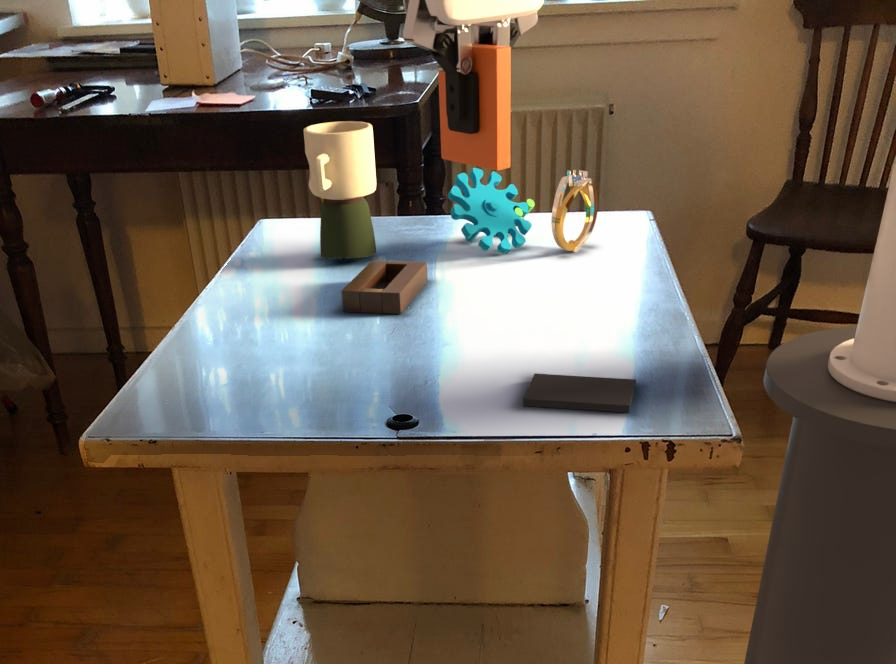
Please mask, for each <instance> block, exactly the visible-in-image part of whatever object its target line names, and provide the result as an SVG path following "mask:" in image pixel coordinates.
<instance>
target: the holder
mask: <svg viewBox="0 0 896 664" xmlns="http://www.w3.org/2000/svg"><path fill="white" fill-rule="evenodd" d="M428 282H429V281H428V262H427V261H411V260H410V261H409V260H408V261H407V260H381V259H379V260H377V259H375V260H374V259H371V261H370V262H368V264H367V265H366V266H365V267H364V268H362V270H360V272H358V274H357V275H356V276H355V277H354V278H353V279H352V280H351V281H349V283H348V284H346V286H345V287H343V288H342V289H341V292H340V293H341V302H342V311H343V312H344V313H345V312H346V313H365V314H368V313H369V314H385V315H386V314H387V315H388V314H389V315H402V314H403V312H404V311H405V310H406V309H407V307H408V306H409V305H410V304H411V302H412V301H413V300H414V299H415V298H416V296H417V295H418V294H419V293H420V292H421V290H422V289H423V288H424V287H425V286H426V285H427V283H428ZM387 284H388V285H387ZM386 285H387V286H386ZM385 286H386V287H385Z"/></svg>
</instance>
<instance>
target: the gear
mask: <svg viewBox="0 0 896 664" xmlns="http://www.w3.org/2000/svg"><path fill="white" fill-rule="evenodd" d="M483 176H484V171H483V169H481V168H479V167H473V168H472V169H471V170H470V172H469V175H468V174H467V173H466V172H461V173H459V174H457V175H456V176H455V178H454V179H453V182H454V185H453V186H452V188H451V189H450V190H449V192H448V193H447V198H448V200H449V201H452V202H455V203H456V204H455V203H454V204H453V206H452V207H451V208H450V217H451V219H452V220H453V221H458V220H464V221H465V220H466V221H468V222H466V223H464V224H463V226H462V227H461V229H460V231H461V233H462V235H463V236H464V239H465V241H467V242H468V243H473V242H474V241H475V239H476V238H477V236H478V235H479V234H480V233H483V234H485V235H484V236H482V237H481V238H480V240H479V241H478V245H477V246H478V247H479V248H480V249H482V250H483V251H485V252H488V251H489V250H490V249H491V247H492V246H493V243H494V242H493V241H494V240H493V239H494V237H497V238H498V239H499V240H500V243H499V244H498V245H497V247H496V250H497V252H498V253H499V254H502V255H507V254H509V252H510V251H511V250H512V247H513V248H514V249H519V248H521V247H523V246H524V244H525V243H526V241H527V239H526V237H525V236H526V234H528V232H530V230H531V228H532V225H533V224H532V223H531V222H530V221H529V220H526V219H525V217H526V215H528V214H529V213H530V212H531V211H532V210H533V209H534V207H535V205H536V204H535V201H534V199H532V198H527V199H526V201H521V202H515V201H512V200H514V199H515V198H516V197H517V196H518V194H519V191H518V189H517V187H516V185H515V184H514V183H510V184H509V185H508V186H507V187H506V188H505V189H497V186H499V184H500V183H501V181H502V180H503V177H502V176H501V175H500V174H499V173H498V172H497V171H495V170H492V172H491V173H490V174H489V176H488V177H487V184H486V185H484V184H482V182H481V179H482V178H483ZM469 178H470V180H471V182H472V187H471V186H470V185H469ZM463 194H464V195H463ZM508 235H510V236H511V242H510V240H509V237H508Z"/></svg>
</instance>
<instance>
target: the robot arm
mask: <svg viewBox="0 0 896 664" xmlns="http://www.w3.org/2000/svg"><path fill="white" fill-rule="evenodd" d="M402 1H403V8H404V12H405V19H404V25H403V29H402V30H403V31H402V38H403V41H404V42H405V43H406V44H409V45H410V46H411V45H412V46H414V47H417V48H420V49H423V50H425V51H427V53H429V55H430V57H432V58H433V59H434V61H435V62H436V65H437V70H438V69H439V70H440V71H441V72H445V85H446V113H447V118H448V128H449V130H451V131H456V132H461V133H467V134H474V133H477V132H478V130H479V78H478V73H472V72H471V70H472V65H473V62H472V25H473V44H485V45H496V46H508V47H510V48H511V50H512V49H513V48H514V46H515V44H516V43H517V41H518V40H519V37H522V36H524V34H526V33H527V32H529V31H530V30H531V29H532V28H534V27H536V25H537V24H538V21H539V14H538V11H539V10H541V8H542V7H543V5H544V3H545V0H402ZM431 24H434V28H433V27H432V26H431ZM878 228H879V229H878V232H877V237H876V242H875V246H874V251H873V254H872V260H871V264H870V268H869V271H868V272H869V273H868V278H867V282H866V285H865V290H864V293H863V299H862V303H861V306H860V307H861V308H860V313H859V315H858V316H859V317H858V321H857V325H856V326H857V329H856V334H855V338H854V339H851V340H848V341H845V342H843V343H841V344H839V345H838V346H836V347H835V348H834V349H833V350H832V351H831V353H830V357H829V361H828V371H829V372H830V374H831V376H832V377H833V378H834V379H835V380H836V381H837V382H839V383H840V384H842V385H843V386H845V387H847V388H849V389H851V390H853V391H855V392H858V393H860V394H863V395H866V396H869V397H873V398H877V399H881V400H885V401H890V402H896V158H895V159H894V163H893V167H892V172H891V176H890V180H889V185H888V189H887V194H886V198H885V202H884V207H883V212H882V216H881V220H880V224H879V227H878Z"/></svg>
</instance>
